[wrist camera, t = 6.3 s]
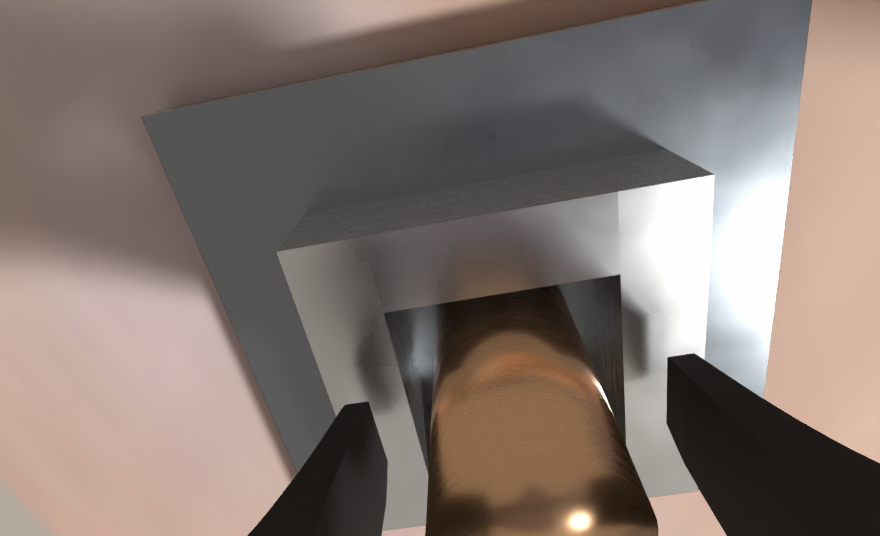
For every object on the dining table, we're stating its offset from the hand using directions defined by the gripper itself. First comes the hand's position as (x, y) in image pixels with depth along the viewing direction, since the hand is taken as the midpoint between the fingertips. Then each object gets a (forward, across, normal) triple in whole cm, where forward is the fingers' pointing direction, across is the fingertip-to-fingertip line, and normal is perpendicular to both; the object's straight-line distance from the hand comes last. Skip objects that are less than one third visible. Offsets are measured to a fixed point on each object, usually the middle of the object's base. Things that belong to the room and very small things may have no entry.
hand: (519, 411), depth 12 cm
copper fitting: (+3, 0, 0) cm, 3 cm away
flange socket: (+4, 0, 0) cm, 4 cm away
